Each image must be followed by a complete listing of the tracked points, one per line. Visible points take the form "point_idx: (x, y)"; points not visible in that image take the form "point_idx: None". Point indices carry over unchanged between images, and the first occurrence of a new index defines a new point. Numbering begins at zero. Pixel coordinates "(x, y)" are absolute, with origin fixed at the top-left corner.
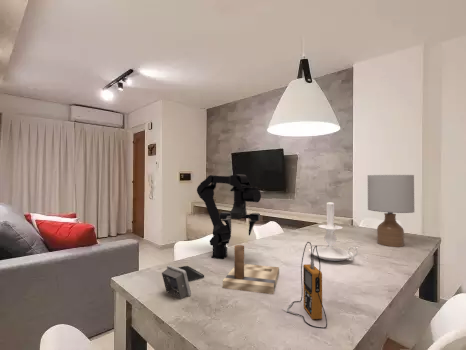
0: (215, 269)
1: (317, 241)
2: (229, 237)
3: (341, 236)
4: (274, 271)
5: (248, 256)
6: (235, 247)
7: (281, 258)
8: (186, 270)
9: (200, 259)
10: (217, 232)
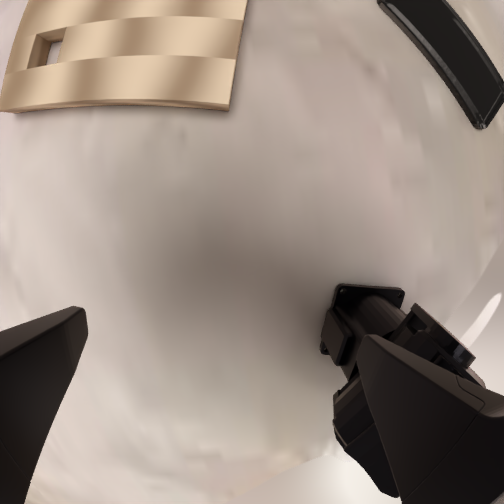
0: (356, 94)
1: None
2: (343, 403)
3: None
4: (22, 43)
5: (192, 356)
6: None
7: None
8: (466, 72)
9: (446, 254)
10: (470, 373)
